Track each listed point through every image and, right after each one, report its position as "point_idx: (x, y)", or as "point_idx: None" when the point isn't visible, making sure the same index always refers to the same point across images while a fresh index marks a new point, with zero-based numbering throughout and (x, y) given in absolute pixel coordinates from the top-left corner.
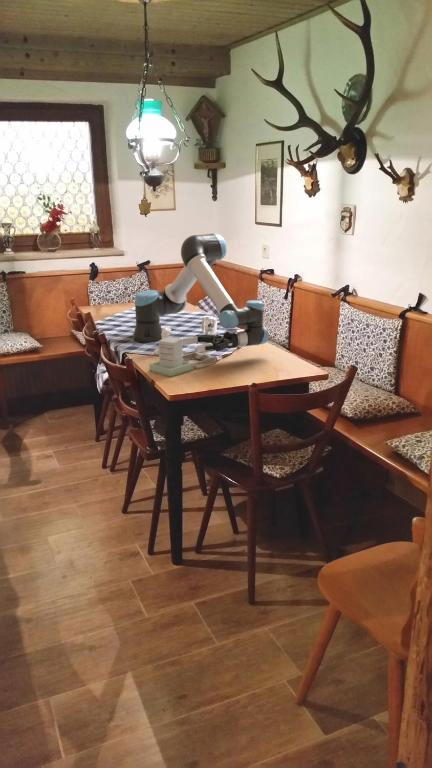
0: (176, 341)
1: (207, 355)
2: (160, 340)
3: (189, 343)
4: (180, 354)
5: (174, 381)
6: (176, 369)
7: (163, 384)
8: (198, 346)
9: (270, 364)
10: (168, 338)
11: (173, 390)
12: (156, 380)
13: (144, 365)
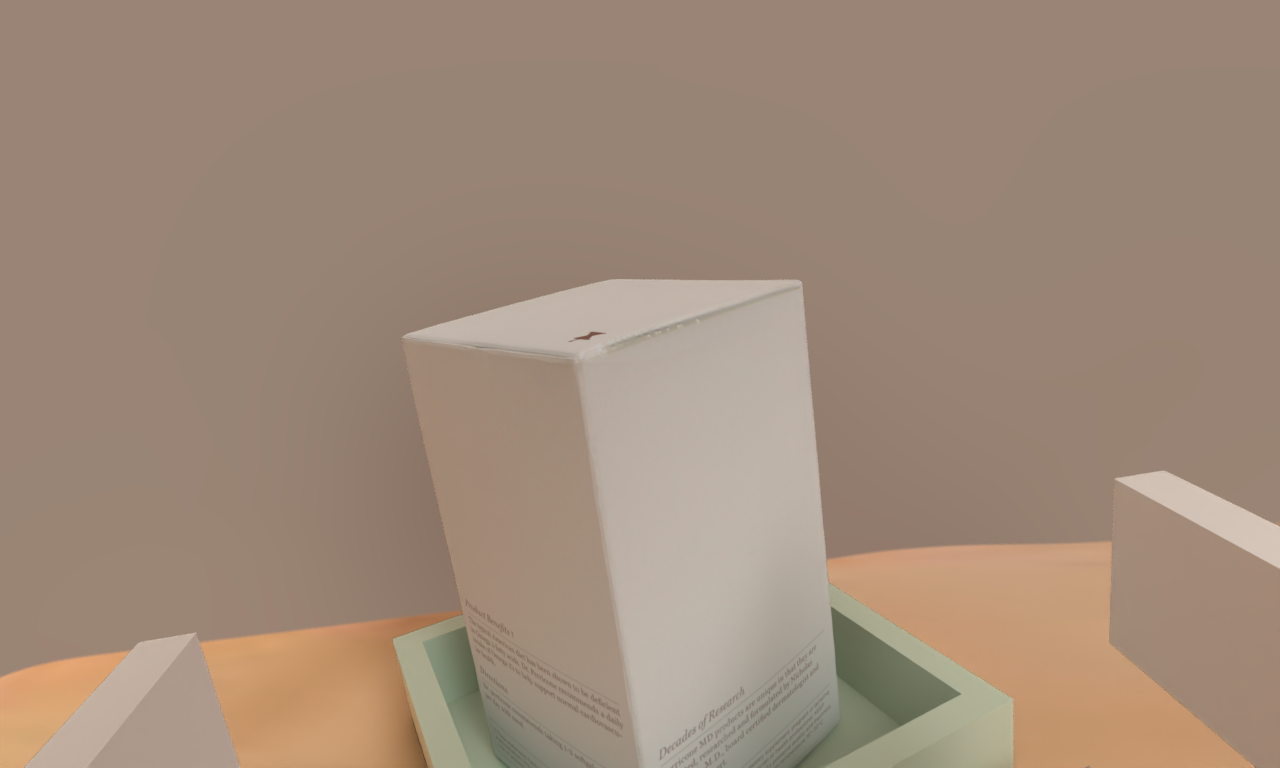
0: (455, 341)
1: None
2: (621, 280)
3: (1260, 754)
4: (560, 622)
5: (247, 735)
6: (415, 713)
7: (263, 650)
8: (133, 678)
9: None
10: (680, 290)
11: (39, 697)
12: (413, 617)
13: (955, 567)
